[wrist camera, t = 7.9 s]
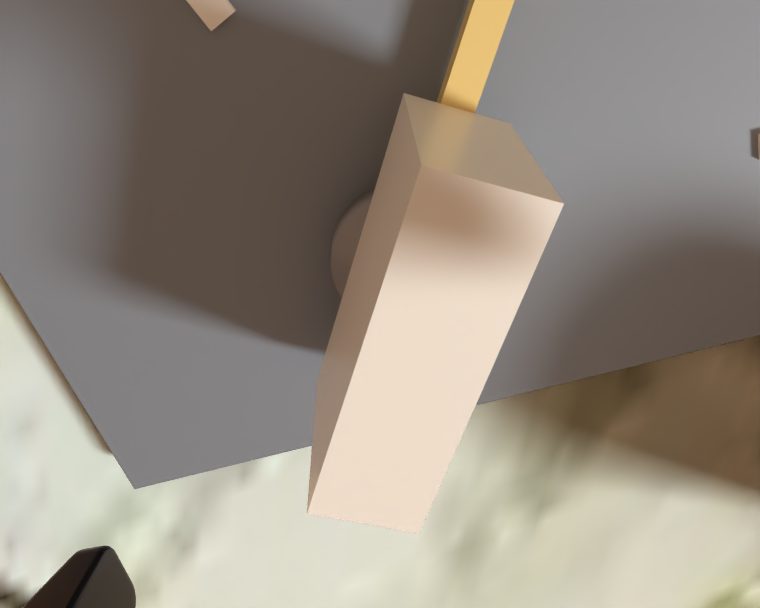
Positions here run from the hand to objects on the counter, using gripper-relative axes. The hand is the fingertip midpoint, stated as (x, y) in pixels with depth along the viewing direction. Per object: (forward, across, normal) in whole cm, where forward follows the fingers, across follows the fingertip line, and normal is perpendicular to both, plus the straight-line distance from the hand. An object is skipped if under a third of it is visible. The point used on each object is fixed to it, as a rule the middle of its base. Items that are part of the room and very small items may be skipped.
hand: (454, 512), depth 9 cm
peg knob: (+8, -1, -2) cm, 9 cm away
